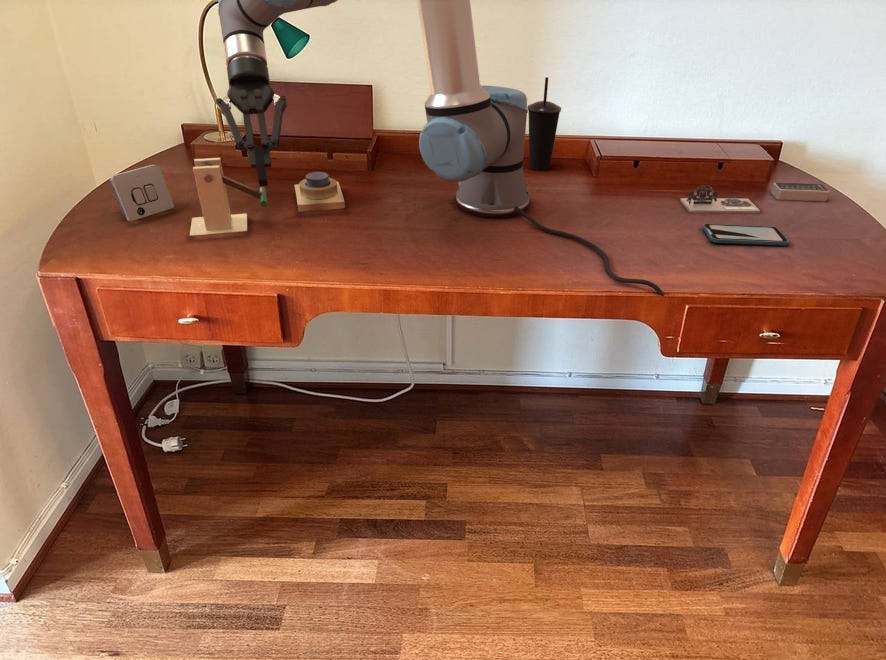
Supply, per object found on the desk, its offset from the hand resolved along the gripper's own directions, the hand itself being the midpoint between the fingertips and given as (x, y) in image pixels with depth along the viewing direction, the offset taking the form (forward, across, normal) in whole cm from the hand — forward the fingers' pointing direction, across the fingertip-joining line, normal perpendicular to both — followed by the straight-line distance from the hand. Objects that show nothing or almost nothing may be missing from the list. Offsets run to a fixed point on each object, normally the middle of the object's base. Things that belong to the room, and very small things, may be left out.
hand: (263, 182), depth 127 cm
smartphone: (+24, -88, +12) cm, 92 cm away
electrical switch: (0, +23, -12) cm, 26 cm away
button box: (+1, -10, -11) cm, 15 cm away
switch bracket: (+7, +9, -5) cm, 12 cm away
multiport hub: (+13, -113, +1) cm, 113 cm away
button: (-2, -10, -8) cm, 13 cm away
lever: (+1, +6, 0) cm, 6 cm away
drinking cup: (-8, -62, -20) cm, 66 cm away
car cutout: (+14, -92, +1) cm, 93 cm away
